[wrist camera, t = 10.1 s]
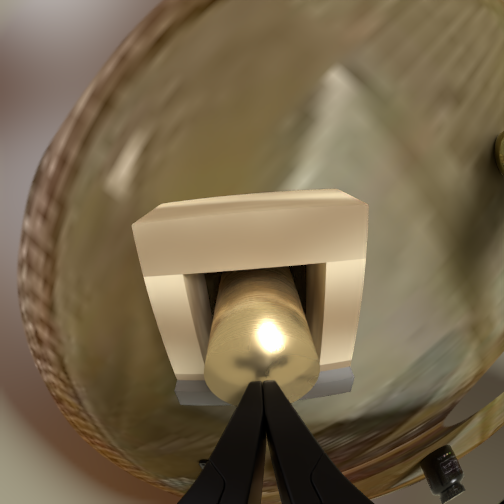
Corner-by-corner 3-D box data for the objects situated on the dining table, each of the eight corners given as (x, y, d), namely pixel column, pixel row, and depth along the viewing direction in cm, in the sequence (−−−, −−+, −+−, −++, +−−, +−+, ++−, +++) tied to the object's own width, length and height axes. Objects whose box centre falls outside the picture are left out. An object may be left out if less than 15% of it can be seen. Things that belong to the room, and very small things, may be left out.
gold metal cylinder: (292, 310, 16) (315, 403, 9) (225, 315, 16) (214, 411, 9) (291, 246, 14) (324, 326, 8) (216, 252, 14) (192, 337, 8)
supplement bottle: (440, 455, 31) (457, 496, 20) (414, 466, 31) (430, 511, 20) (455, 439, 29) (476, 482, 17) (429, 451, 29) (448, 500, 17)
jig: (329, 342, 17) (349, 396, 12) (194, 353, 17) (182, 409, 12) (336, 188, 13) (377, 209, 9) (161, 203, 13) (123, 231, 9)
